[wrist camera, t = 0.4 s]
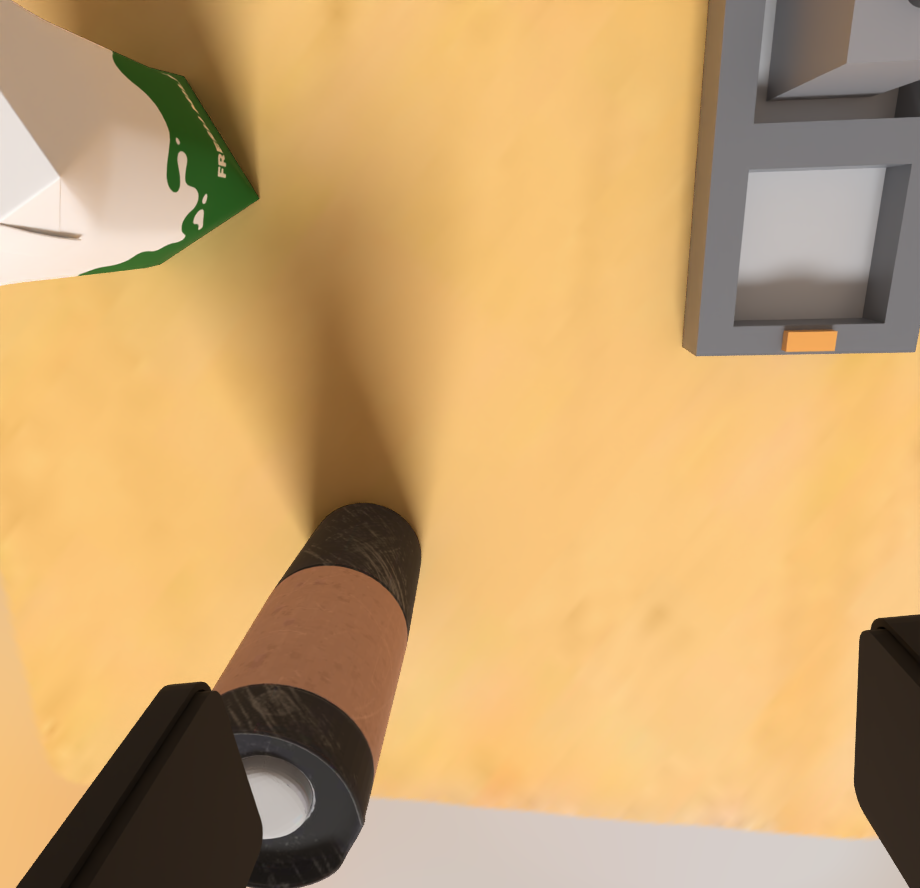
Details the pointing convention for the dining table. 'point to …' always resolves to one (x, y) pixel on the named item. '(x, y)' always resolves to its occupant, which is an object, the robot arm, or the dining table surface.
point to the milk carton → (101, 158)
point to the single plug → (843, 48)
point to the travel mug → (322, 689)
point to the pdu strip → (799, 209)
